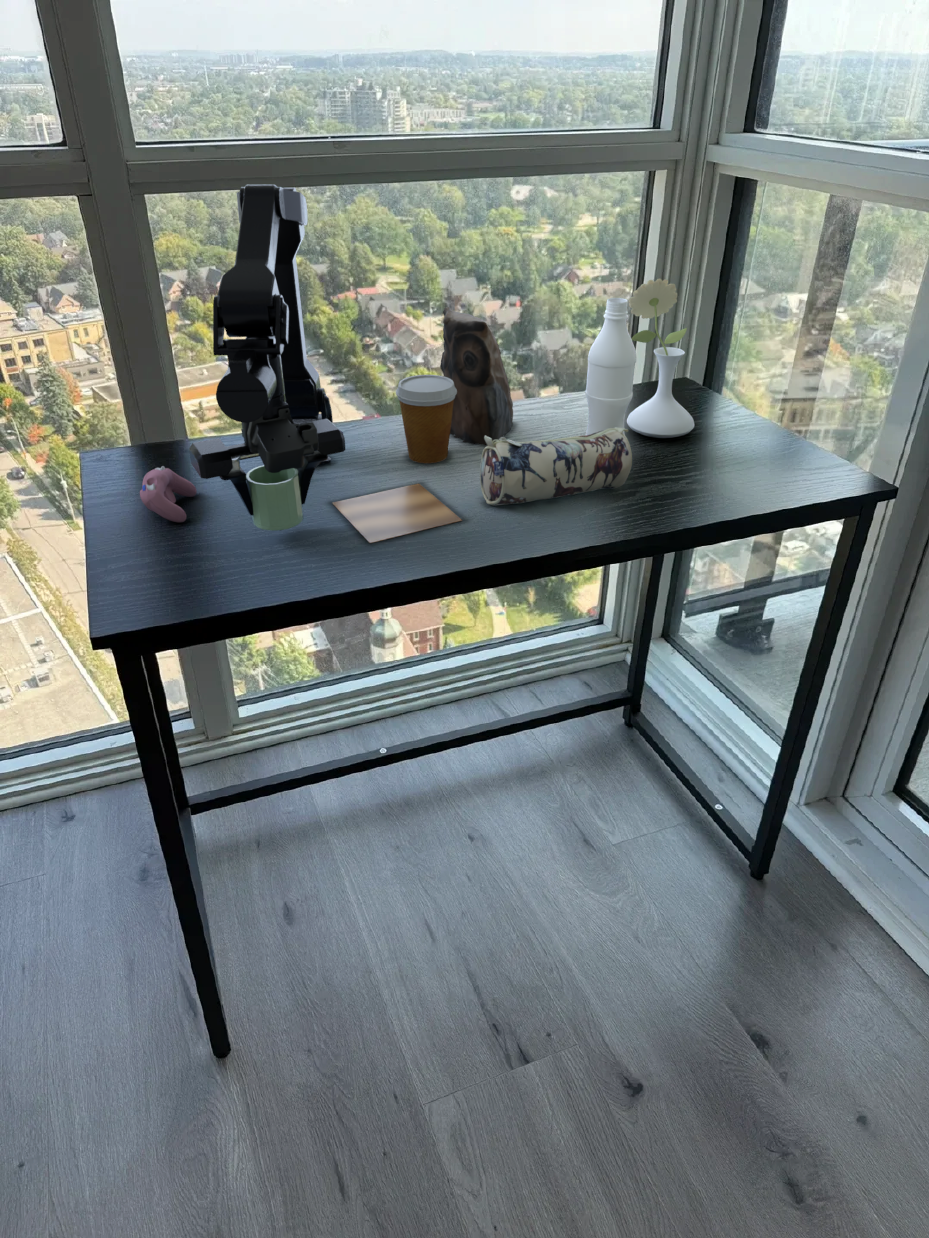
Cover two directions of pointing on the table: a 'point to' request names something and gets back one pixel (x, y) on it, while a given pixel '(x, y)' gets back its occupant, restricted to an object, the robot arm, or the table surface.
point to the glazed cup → (275, 498)
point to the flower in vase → (662, 409)
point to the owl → (475, 379)
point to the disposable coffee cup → (427, 415)
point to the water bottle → (610, 370)
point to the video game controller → (165, 493)
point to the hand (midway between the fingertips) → (276, 508)
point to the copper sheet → (395, 512)
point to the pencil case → (553, 466)
